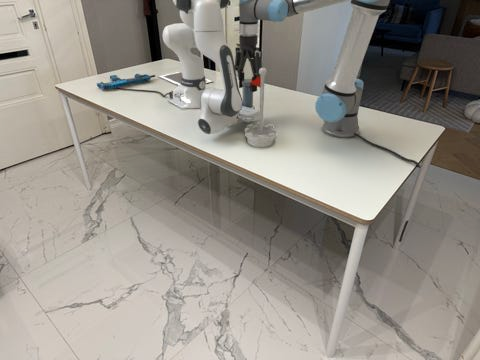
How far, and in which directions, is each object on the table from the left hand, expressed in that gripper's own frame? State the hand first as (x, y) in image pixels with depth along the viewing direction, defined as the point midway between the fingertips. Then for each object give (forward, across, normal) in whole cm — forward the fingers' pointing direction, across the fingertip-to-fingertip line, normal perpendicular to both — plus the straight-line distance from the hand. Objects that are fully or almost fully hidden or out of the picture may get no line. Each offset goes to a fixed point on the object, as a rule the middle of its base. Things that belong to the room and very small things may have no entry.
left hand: (248, 106), depth 157 cm
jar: (-1, 0, +7) cm, 7 cm away
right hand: (-1, 0, -8) cm, 8 cm away
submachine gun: (-2, +95, +7) cm, 95 cm away
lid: (-1, 0, -12) cm, 12 cm away
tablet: (+25, +71, +7) cm, 75 cm away
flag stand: (-15, -18, +7) cm, 24 cm away
